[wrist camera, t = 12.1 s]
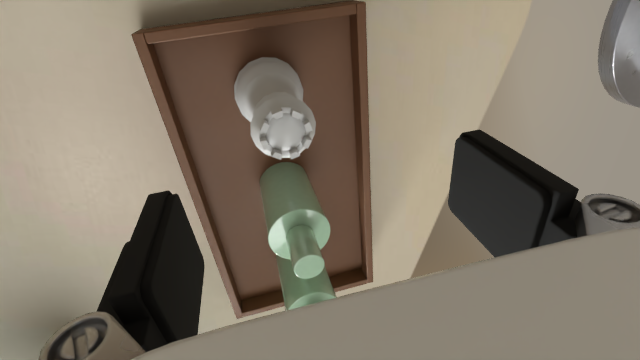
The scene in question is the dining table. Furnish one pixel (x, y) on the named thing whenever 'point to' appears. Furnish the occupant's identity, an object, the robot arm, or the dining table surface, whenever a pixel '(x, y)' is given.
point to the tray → (240, 150)
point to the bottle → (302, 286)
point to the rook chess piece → (275, 107)
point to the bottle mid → (294, 218)
